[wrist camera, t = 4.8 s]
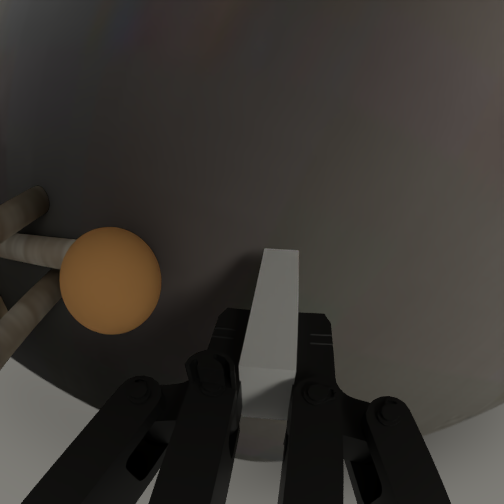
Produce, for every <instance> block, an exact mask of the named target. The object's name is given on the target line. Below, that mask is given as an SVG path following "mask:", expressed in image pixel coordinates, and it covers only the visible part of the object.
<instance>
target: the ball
mask: <svg viewBox="0 0 504 504" xmlns="http://www.w3.org/2000/svg"><path fill="white" fill-rule="evenodd" d="M59 282H60V290H61V295H62V298H63V301H64V303H65V305H66V307H67V309H68V310H69V312H70V313H71V315H72V316H73V317H74V318H75V319H76V320H77V321H78V322H79V323H80V324H82V325H83V326H85V327H86V328H88V329H90V330H92V331H95V332H98V333H102V334H111V335H114V334H122V333H125V332H128V331H131V330H133V329H135V328H137V327H138V326H140V325H141V324H142V323H143V322H145V321H146V320H147V319H148V317H149V316H150V315H151V313H152V312H153V310H154V309H155V307H156V305H157V303H158V300H159V296H160V292H161V272H160V267H159V264H158V261H157V259H156V257H155V255H154V253H153V251H152V250H151V248H150V247H149V246H148V245H147V244H146V243H145V242H144V241H143V240H142V239H141V238H140V237H139V236H137V235H135V234H134V233H132V232H130V231H127V230H125V229H121V228H117V227H102V228H97V229H94V230H91V231H89V232H87V233H85V234H83V235H82V236H80V237H79V238H78V239H77V240H76V241H75V242H74V243H73V244H72V245H71V246H70V248H69V249H68V251H67V252H66V254H65V256H64V258H63V261H62V264H61V269H60V277H59Z"/></svg>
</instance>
